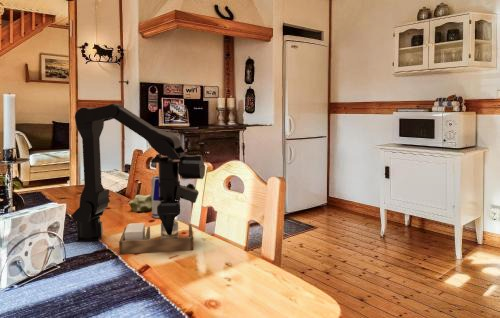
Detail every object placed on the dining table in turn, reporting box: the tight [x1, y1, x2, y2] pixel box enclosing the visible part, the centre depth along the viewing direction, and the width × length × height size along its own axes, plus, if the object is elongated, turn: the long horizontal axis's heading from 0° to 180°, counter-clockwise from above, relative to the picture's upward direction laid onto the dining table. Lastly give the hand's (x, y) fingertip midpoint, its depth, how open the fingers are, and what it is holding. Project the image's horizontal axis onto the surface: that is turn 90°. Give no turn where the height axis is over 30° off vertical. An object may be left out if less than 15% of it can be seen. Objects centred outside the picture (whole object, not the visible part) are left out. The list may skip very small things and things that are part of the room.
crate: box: [118, 223, 194, 255], centre depth 119 cm, size 20×14×4 cm
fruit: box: [128, 193, 152, 213], centre depth 159 cm, size 9×9×8 cm
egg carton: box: [125, 222, 146, 241], centre depth 118 cm, size 5×9×6 cm, turn 10°
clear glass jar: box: [160, 220, 179, 239], centre depth 120 cm, size 5×5×6 cm
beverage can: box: [150, 175, 160, 219], centre depth 149 cm, size 5×5×15 cm
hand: (169, 230), depth 120 cm, fingers open, 9 cm apart
